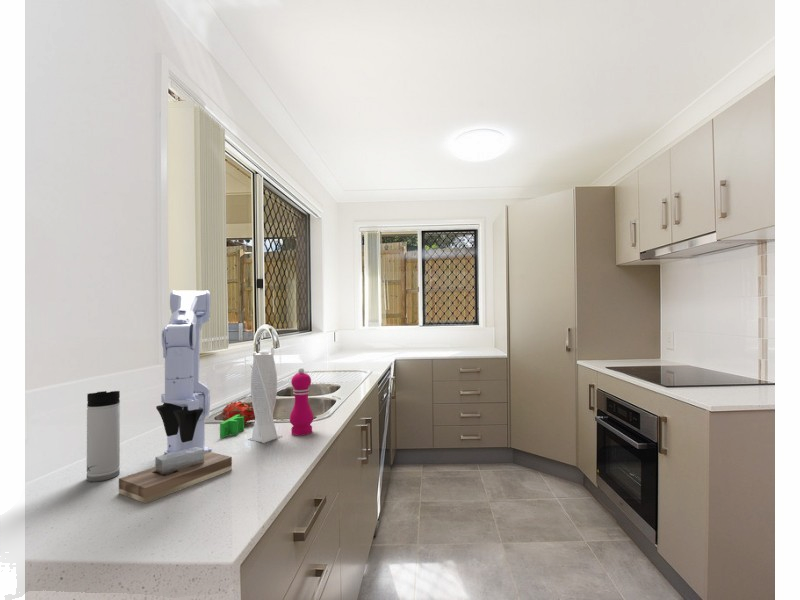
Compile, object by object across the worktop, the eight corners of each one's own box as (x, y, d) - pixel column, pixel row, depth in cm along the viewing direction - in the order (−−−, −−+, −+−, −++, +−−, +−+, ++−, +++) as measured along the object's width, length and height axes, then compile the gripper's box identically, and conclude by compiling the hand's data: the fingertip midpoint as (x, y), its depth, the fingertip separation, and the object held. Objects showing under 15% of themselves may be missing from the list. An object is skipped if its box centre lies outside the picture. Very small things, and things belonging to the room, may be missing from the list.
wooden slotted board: (118, 493, 87) (118, 478, 88) (205, 462, 105) (205, 450, 105) (145, 503, 82) (145, 488, 83) (231, 469, 100) (231, 456, 100)
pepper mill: (292, 429, 133) (291, 366, 134) (314, 429, 134) (314, 366, 135) (287, 436, 126) (287, 369, 127) (312, 435, 127) (311, 369, 127)
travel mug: (83, 484, 92) (84, 393, 93) (89, 474, 98) (89, 388, 99) (117, 479, 95) (117, 390, 96) (121, 469, 101) (121, 386, 102)
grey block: (155, 480, 92) (155, 457, 92) (197, 467, 98) (196, 446, 99) (162, 484, 89) (162, 460, 89) (204, 471, 96) (204, 449, 96)
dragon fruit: (219, 429, 141) (256, 432, 143) (215, 419, 134) (253, 423, 136) (226, 405, 146) (261, 409, 148) (223, 395, 140) (260, 399, 141)
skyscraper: (285, 438, 125) (284, 344, 126) (263, 446, 118) (263, 346, 119) (266, 434, 130) (266, 344, 130) (244, 441, 123) (243, 346, 124)
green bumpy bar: (232, 439, 126) (231, 423, 126) (220, 438, 126) (219, 423, 126) (248, 428, 137) (248, 414, 137) (237, 428, 137) (237, 414, 137)
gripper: (212, 377, 93) (212, 439, 93) (183, 372, 102) (183, 428, 102) (179, 382, 87) (179, 447, 87) (151, 376, 97) (151, 435, 96)
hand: (179, 438), depth 94 cm, fingers open, 7 cm apart
